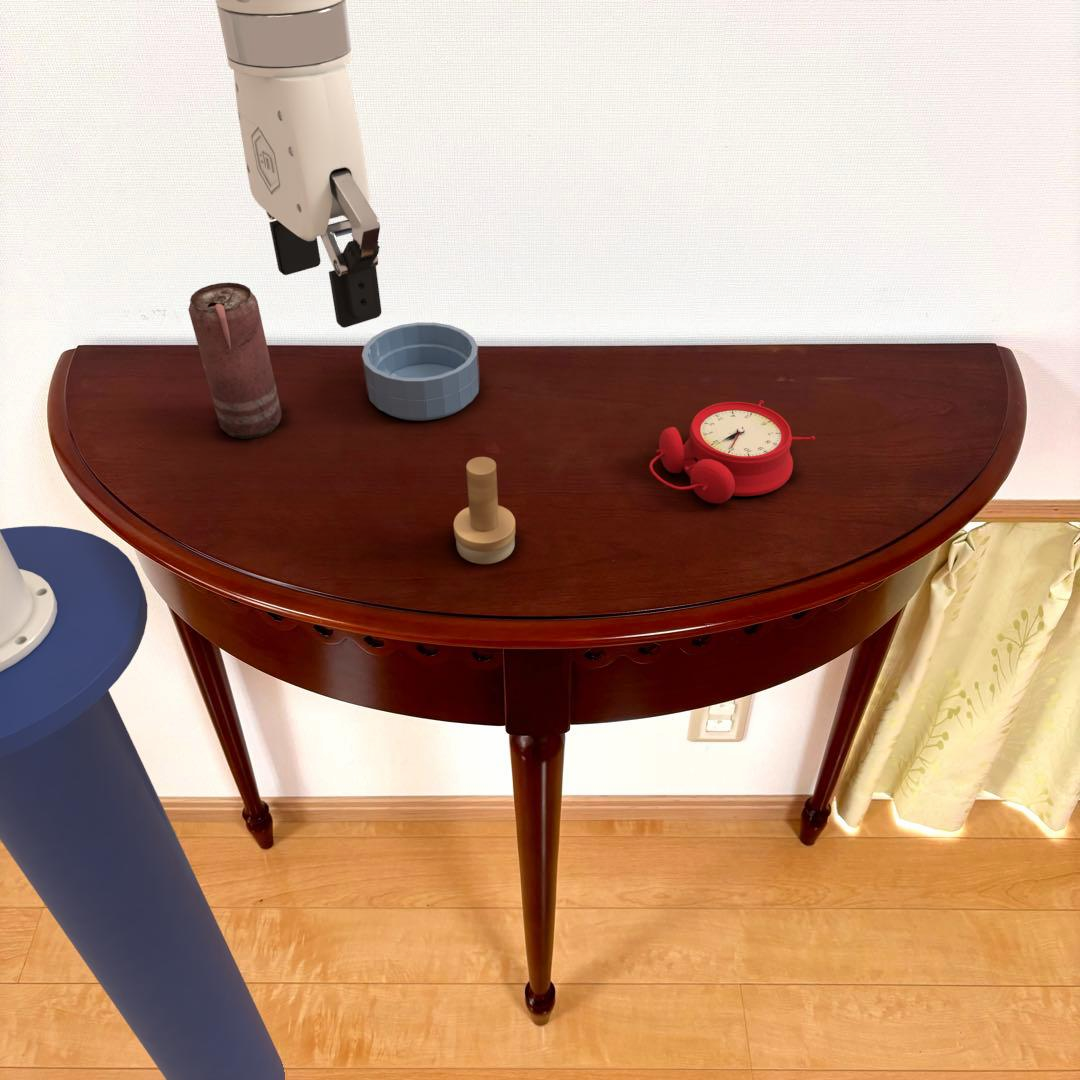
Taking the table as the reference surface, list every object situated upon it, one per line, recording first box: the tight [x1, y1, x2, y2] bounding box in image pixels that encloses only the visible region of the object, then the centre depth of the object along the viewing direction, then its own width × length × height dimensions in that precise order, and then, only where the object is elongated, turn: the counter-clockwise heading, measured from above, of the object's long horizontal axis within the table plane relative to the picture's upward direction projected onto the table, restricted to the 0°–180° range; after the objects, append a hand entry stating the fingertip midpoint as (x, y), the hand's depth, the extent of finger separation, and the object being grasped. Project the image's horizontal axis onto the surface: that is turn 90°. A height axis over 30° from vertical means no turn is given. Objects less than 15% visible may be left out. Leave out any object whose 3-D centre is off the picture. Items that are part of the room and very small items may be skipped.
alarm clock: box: [649, 400, 816, 504], centre depth 88 cm, size 10×6×15 cm
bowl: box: [361, 321, 481, 422], centre depth 99 cm, size 12×12×5 cm
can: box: [187, 282, 283, 440], centre depth 92 cm, size 6×6×14 cm
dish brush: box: [453, 456, 517, 565], centre depth 79 cm, size 5×5×8 cm
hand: (328, 294), depth 69 cm, fingers open, 9 cm apart
